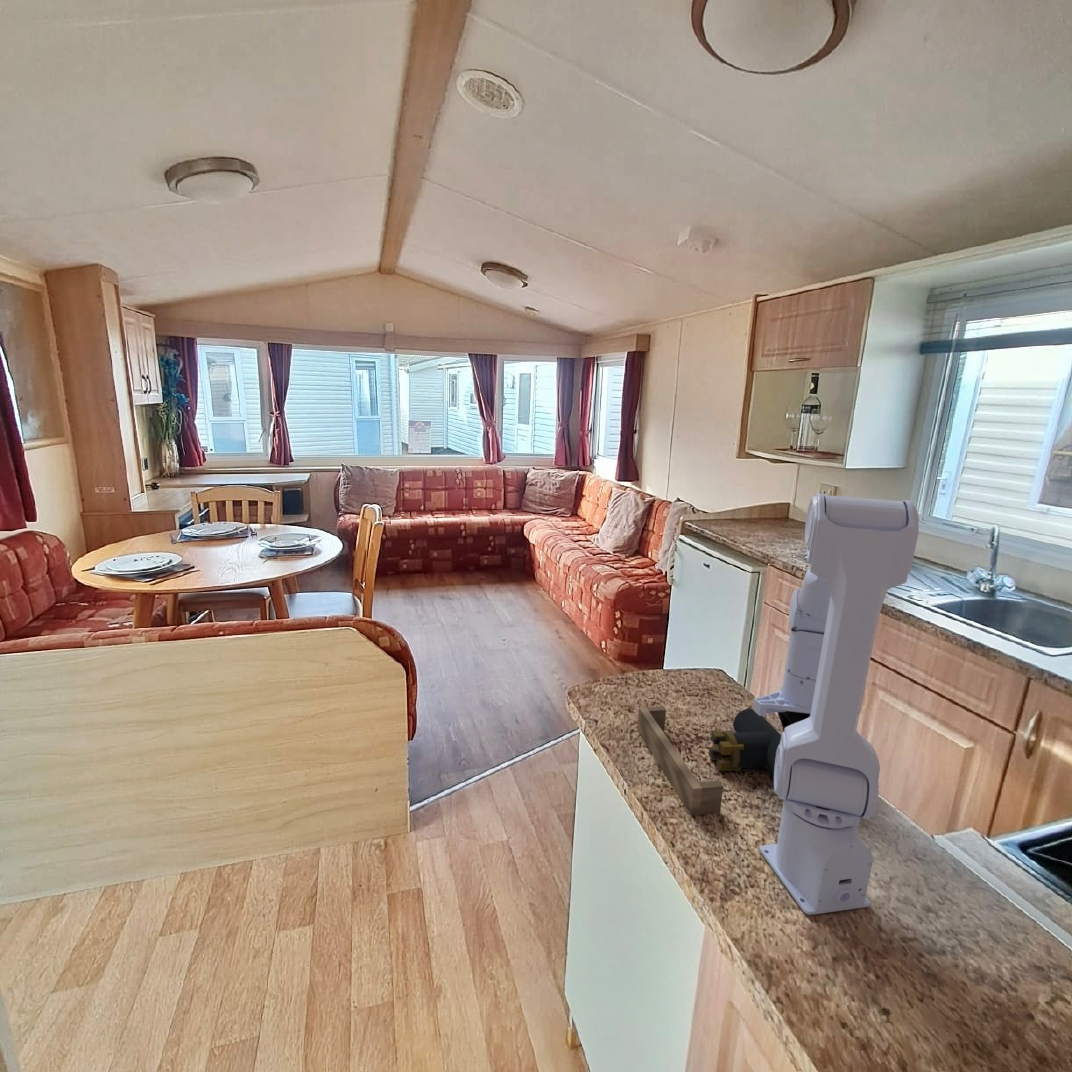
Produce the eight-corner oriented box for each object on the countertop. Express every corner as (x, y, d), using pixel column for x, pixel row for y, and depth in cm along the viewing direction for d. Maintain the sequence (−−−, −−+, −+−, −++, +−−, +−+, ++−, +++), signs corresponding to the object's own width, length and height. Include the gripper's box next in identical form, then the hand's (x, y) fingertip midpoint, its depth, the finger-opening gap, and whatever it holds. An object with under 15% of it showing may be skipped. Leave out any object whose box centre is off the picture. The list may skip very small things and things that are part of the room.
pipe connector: (742, 766, 78) (697, 708, 93) (737, 800, 79) (693, 738, 94) (819, 763, 80) (763, 707, 94) (813, 796, 81) (759, 736, 95)
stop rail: (720, 812, 76) (723, 786, 75) (690, 815, 76) (693, 788, 75) (661, 727, 96) (663, 706, 95) (637, 729, 95) (639, 707, 94)
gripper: (831, 657, 90) (818, 734, 93) (746, 661, 87) (736, 740, 90) (864, 678, 83) (849, 761, 86) (773, 683, 81) (760, 768, 84)
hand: (793, 752), depth 88 cm, fingers closed
